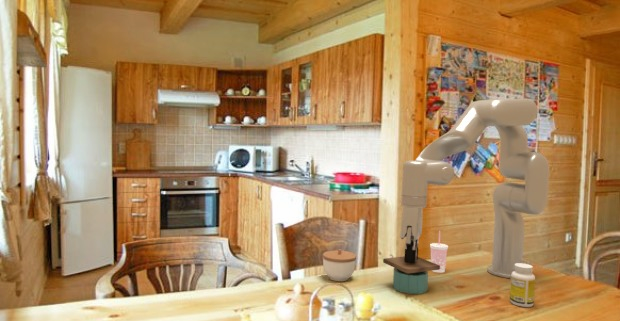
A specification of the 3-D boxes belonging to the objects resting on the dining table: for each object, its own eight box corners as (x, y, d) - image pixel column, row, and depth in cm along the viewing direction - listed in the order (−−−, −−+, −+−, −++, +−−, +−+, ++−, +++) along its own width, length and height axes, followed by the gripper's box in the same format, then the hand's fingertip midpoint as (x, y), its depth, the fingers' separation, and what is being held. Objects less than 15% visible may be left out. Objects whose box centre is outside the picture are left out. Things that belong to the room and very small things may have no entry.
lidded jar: (331, 271, 151) (332, 243, 151) (360, 277, 146) (361, 248, 145) (316, 279, 142) (317, 250, 141) (346, 286, 136) (347, 255, 136)
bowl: (412, 281, 143) (413, 264, 143) (433, 291, 134) (434, 273, 134) (386, 284, 139) (387, 267, 138) (407, 295, 130) (408, 277, 130)
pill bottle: (528, 300, 129) (530, 262, 129) (537, 308, 123) (539, 269, 122) (506, 298, 130) (508, 261, 129) (514, 306, 124) (516, 267, 123)
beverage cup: (449, 273, 152) (451, 233, 152) (430, 272, 153) (432, 232, 152) (444, 268, 158) (446, 229, 158) (427, 267, 159) (429, 228, 158)
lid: (413, 259, 144) (414, 241, 144) (439, 269, 133) (440, 251, 133) (383, 262, 139) (383, 244, 139) (407, 273, 128) (408, 254, 128)
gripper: (407, 197, 144) (404, 253, 145) (395, 203, 129) (392, 266, 130) (430, 199, 141) (427, 256, 142) (421, 206, 126) (418, 270, 127)
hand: (411, 260), depth 136 cm, fingers closed on lid, 3 cm apart
